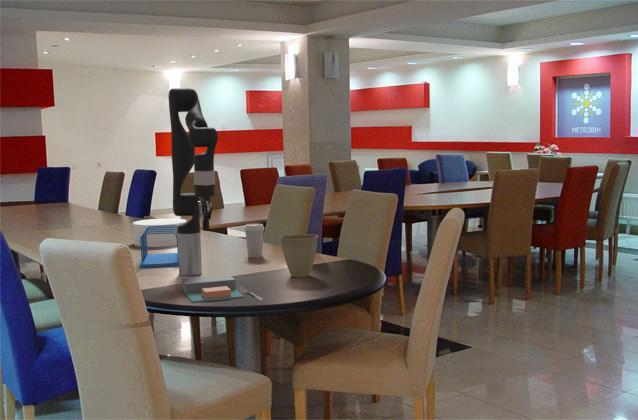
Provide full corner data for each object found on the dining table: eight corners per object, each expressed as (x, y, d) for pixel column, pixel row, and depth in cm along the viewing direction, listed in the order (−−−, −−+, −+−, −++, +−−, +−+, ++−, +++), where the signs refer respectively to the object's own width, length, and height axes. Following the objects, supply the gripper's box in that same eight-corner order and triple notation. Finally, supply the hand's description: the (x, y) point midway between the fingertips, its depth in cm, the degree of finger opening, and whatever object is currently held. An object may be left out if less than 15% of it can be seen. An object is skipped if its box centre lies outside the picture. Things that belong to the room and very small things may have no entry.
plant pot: (315, 271, 287) (314, 233, 286) (321, 278, 273) (320, 238, 271) (279, 273, 285) (278, 234, 283) (283, 280, 270) (282, 240, 268)
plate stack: (170, 237, 390) (169, 217, 389) (197, 242, 370) (196, 221, 368) (124, 243, 371) (123, 222, 370) (150, 249, 351) (149, 226, 350)
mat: (186, 295, 248) (186, 293, 248) (235, 290, 254) (235, 289, 254) (192, 302, 237) (192, 301, 237) (243, 297, 243) (243, 296, 243)
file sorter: (145, 258, 325) (143, 225, 323) (183, 256, 327) (181, 224, 326) (140, 268, 300) (138, 233, 298) (180, 266, 303) (179, 231, 301)
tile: (205, 292, 239) (205, 298, 240) (230, 289, 243) (231, 296, 243) (201, 288, 245) (201, 295, 245) (226, 286, 248) (226, 292, 249)
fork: (264, 304, 234) (264, 299, 234) (234, 291, 255) (234, 286, 255) (273, 303, 236) (272, 298, 236) (242, 290, 257) (242, 285, 257)
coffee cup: (252, 259, 317) (252, 226, 315) (240, 256, 324) (239, 224, 322) (269, 256, 323) (268, 224, 322) (257, 254, 330) (256, 222, 329)
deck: (181, 289, 258) (181, 278, 257) (229, 284, 264) (228, 274, 263) (186, 294, 248) (185, 283, 248) (235, 290, 254) (235, 279, 254)
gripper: (190, 181, 256) (192, 228, 258) (197, 185, 243) (199, 234, 246) (210, 180, 258) (212, 226, 261) (218, 184, 246) (220, 232, 249)
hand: (206, 230), depth 253 cm, fingers closed
